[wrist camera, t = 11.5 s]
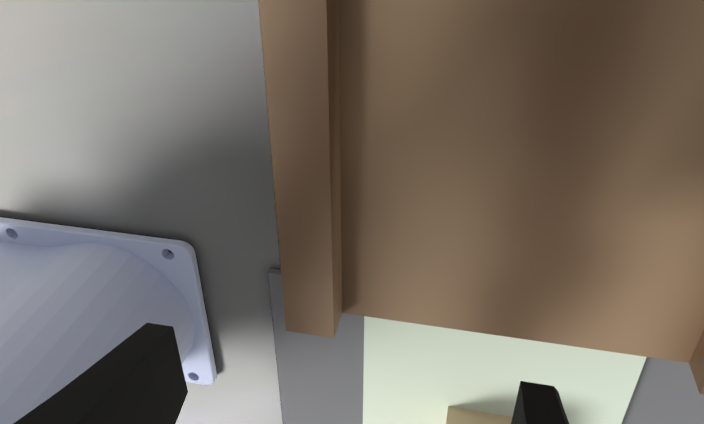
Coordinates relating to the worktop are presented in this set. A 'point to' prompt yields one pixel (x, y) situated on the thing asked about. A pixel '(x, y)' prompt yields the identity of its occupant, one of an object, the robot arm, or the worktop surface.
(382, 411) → the cover plate
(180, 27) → the worktop surface
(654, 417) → the charcoal mat
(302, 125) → the walnut box
